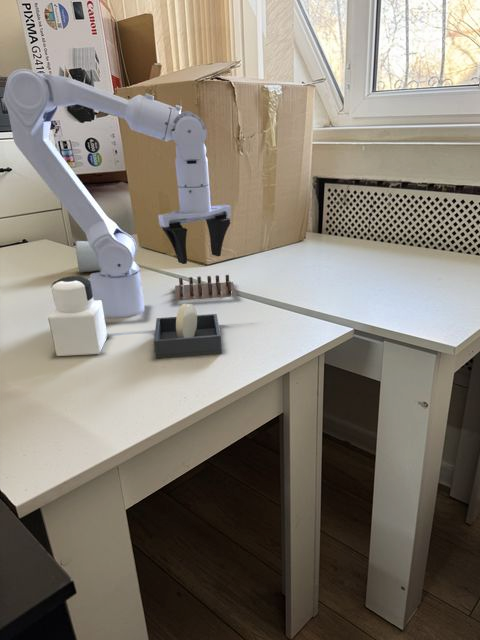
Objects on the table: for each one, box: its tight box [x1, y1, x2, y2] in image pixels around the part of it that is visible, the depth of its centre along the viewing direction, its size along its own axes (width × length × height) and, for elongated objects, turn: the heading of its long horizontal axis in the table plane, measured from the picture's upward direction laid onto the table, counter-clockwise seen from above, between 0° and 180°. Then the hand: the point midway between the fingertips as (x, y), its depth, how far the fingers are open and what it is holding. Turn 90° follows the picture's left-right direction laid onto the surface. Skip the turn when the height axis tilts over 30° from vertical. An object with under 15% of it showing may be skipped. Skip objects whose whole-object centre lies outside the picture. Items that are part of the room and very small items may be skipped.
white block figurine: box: [47, 275, 108, 357], centre depth 84 cm, size 7×7×12 cm
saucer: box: [176, 303, 198, 338], centre depth 86 cm, size 1×6×6 cm, turn 165°
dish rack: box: [174, 274, 238, 301], centre depth 110 cm, size 13×10×3 cm
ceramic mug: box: [75, 240, 101, 273], centre depth 128 cm, size 10×8×8 cm
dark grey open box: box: [153, 313, 223, 359], centre depth 87 cm, size 11×10×3 cm
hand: (199, 259), depth 98 cm, fingers open, 7 cm apart
